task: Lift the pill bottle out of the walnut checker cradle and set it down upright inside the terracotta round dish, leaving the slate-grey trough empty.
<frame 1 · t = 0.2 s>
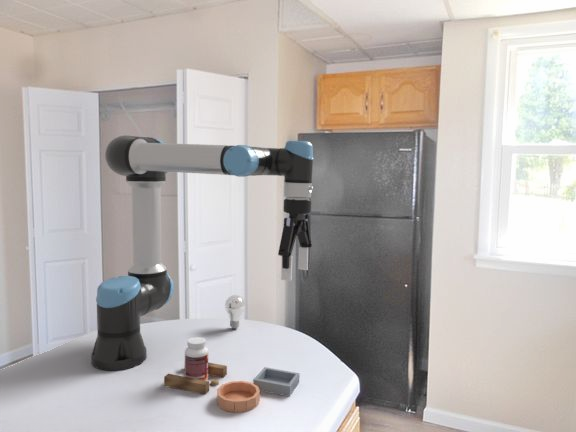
hand: (295, 274, 130), 28 cm above the table, fingers open, 13 cm apart
trough: (276, 385, 123), on the table
cradle: (196, 380, 125), on the table
terracotta round dish: (238, 401, 115), on the table
light bulb: (234, 329, 164), on the table
pill bottle: (196, 380, 125), resting in cradle
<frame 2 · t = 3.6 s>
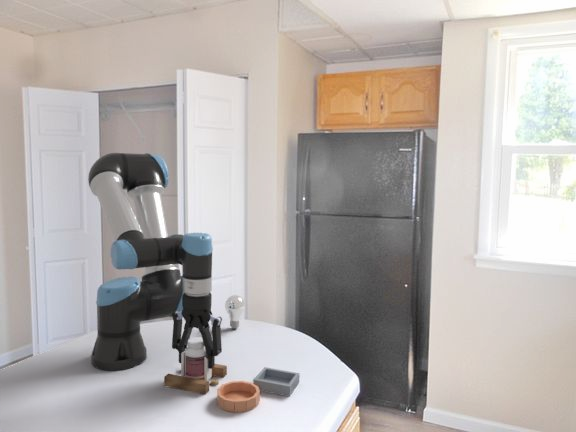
hand: (196, 376, 125), 1 cm above the table, fingers closed on pill bottle, 6 cm apart
pill bottle: (196, 380, 125), resting in cradle, touching gripper
everything else where it was.
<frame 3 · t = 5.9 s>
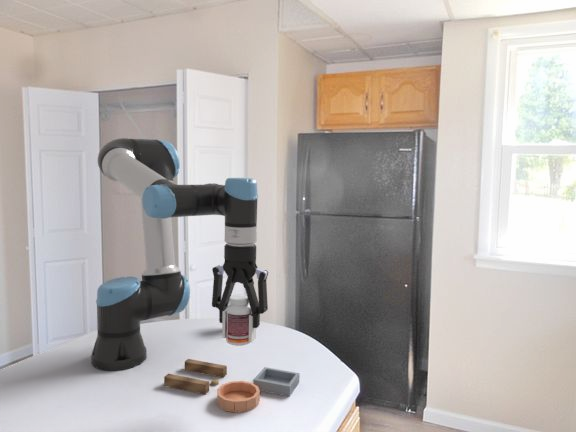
hand: (239, 338, 113), 16 cm above the table, fingers closed on pill bottle, 6 cm apart
pill bottle: (238, 342, 113), point 15 cm above the table, touching gripper
everything else where it was.
when the fingers open (3 cm above the table, at t = 8.5 s): pill bottle drops 2 cm, resting on terracotta round dish.
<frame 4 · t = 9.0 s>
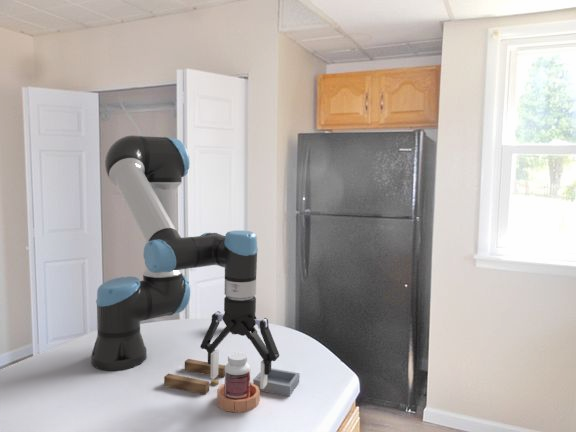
hand: (238, 381, 114), 5 cm above the table, fingers open, 12 cm apart
pill bottle: (237, 399, 115), resting on terracotta round dish
everything else where it was.
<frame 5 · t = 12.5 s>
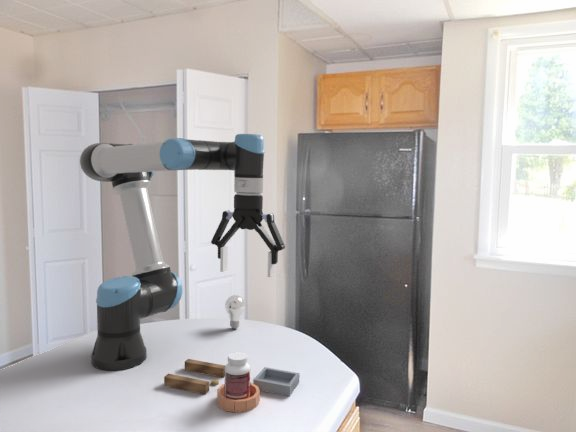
hand: (246, 273, 125), 29 cm above the table, fingers open, 13 cm apart
nothing on the table moved.
at the end: pill bottle 0.3 cm from the terracotta round dish (horizontally); pill bottle tilted 0°; the gripper is holding nothing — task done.
